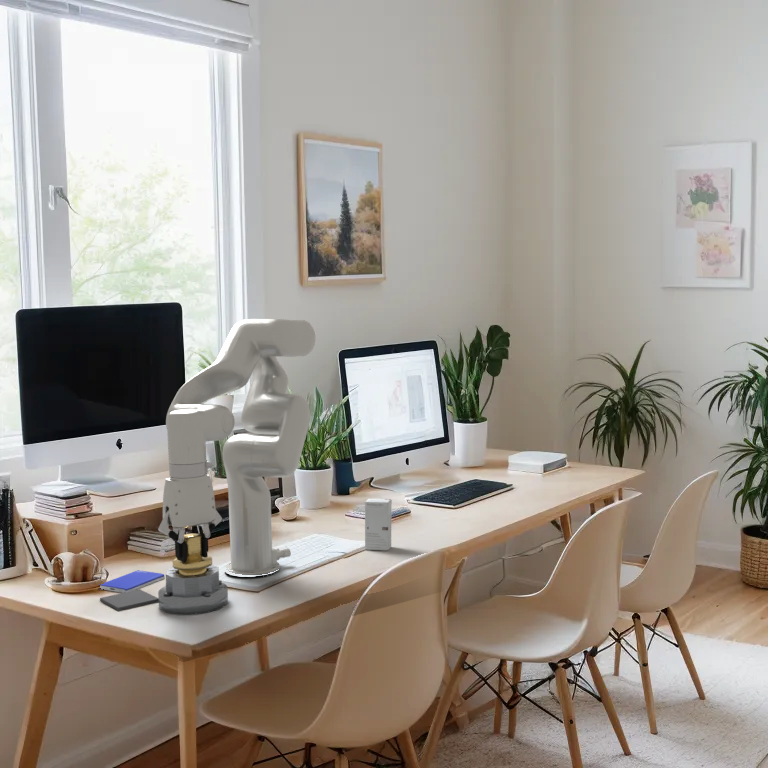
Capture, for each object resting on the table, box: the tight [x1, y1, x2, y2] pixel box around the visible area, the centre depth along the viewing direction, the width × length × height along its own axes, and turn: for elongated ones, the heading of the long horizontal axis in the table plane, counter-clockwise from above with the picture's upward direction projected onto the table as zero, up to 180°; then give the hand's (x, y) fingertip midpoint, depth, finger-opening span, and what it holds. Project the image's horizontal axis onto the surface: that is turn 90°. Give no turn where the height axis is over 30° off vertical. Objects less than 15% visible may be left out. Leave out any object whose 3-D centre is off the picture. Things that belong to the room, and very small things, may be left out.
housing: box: [157, 564, 229, 616], centre depth 208 cm, size 14×14×7 cm
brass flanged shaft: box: [172, 533, 213, 575], centre depth 208 cm, size 8×8×10 cm
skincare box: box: [364, 497, 393, 552], centre depth 250 cm, size 6×4×12 cm
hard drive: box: [99, 569, 166, 594], centre depth 224 cm, size 2×8×12 cm
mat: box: [99, 588, 159, 611], centre depth 211 cm, size 9×9×1 cm
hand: (192, 557), depth 208 cm, fingers closed on brass flanged shaft, 4 cm apart
